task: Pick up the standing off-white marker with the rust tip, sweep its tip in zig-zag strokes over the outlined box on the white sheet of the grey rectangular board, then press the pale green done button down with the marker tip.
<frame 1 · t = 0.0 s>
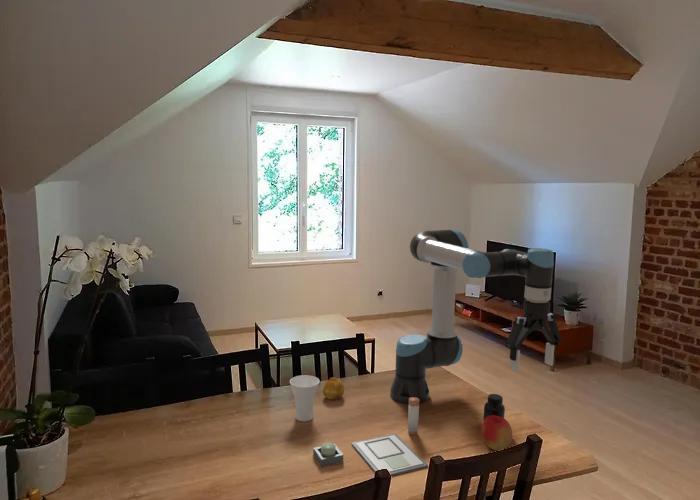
hand: (531, 367, 160), 28 cm above the table, fingers open, 13 cm apart
apple: (495, 448, 166), on the table
fruit: (333, 397, 200), on the table
grey rectangular board: (388, 455, 160), on the table
button housing: (328, 458, 158), on the table
supplement bottle: (492, 430, 178), on the table
cup: (304, 417, 184), on the table
marker: (412, 433, 174), on the table
done button: (328, 451, 157), point 3 cm above the table, slide at 0.0 cm
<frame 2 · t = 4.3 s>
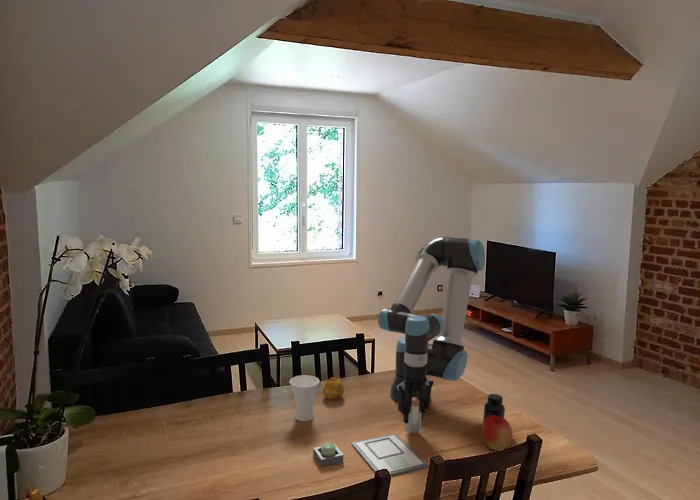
hand: (412, 430, 174), 1 cm above the table, fingers closed on marker, 3 cm apart
marker: (412, 433, 174), on the table, touching gripper
everything else where it was.
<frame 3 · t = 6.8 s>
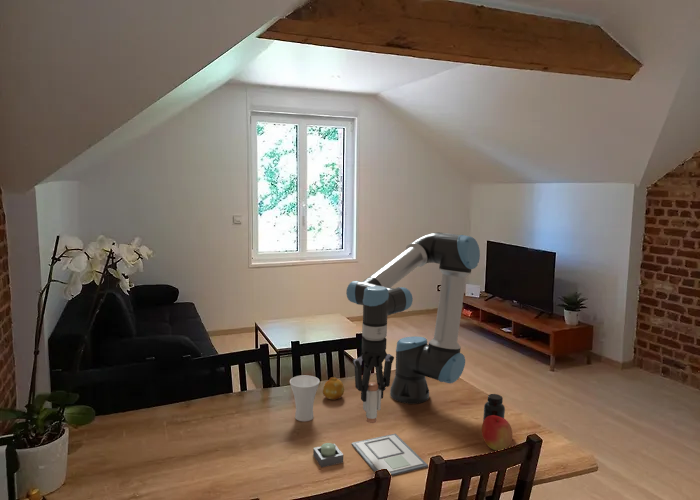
hand: (371, 409, 162), 13 cm above the table, fingers closed on marker, 3 cm apart
marker: (371, 420, 163), point 9 cm above the table, touching gripper
everything else where it was.
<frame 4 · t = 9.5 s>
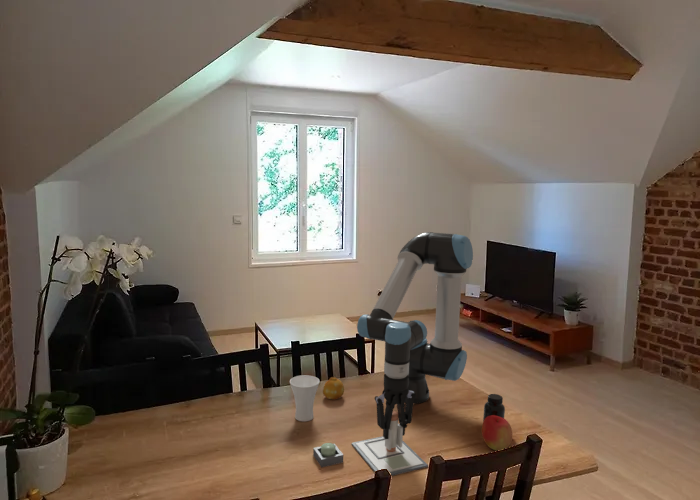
hand: (393, 446, 161), 3 cm above the table, fingers closed on marker, 3 cm apart
marker: (390, 449, 162), point 1 cm above the table, touching gripper
everything else where it was.
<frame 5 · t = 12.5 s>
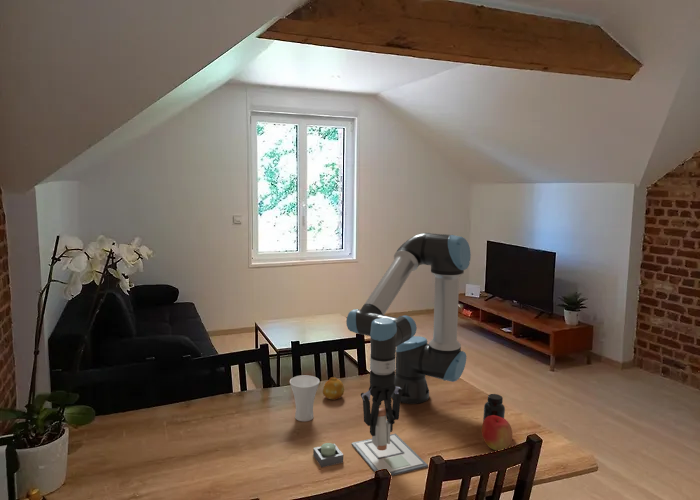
hand: (381, 442, 159), 4 cm above the table, fingers closed on marker, 3 cm apart
marker: (381, 448, 159), point 3 cm above the table, tilted 7°, touching gripper
everything else where it was.
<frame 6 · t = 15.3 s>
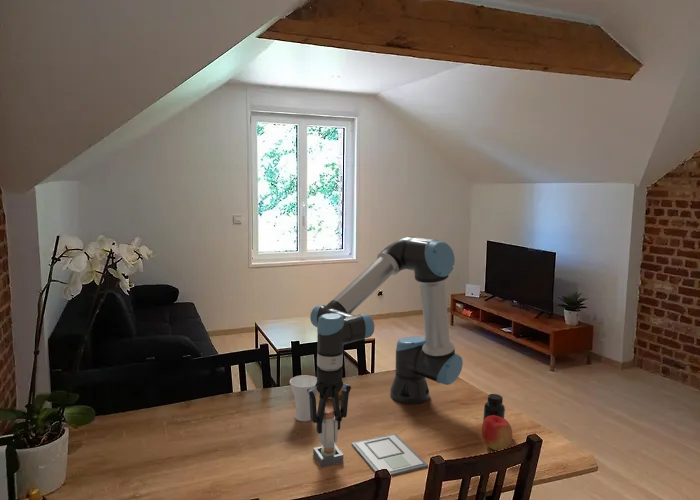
hand: (328, 440, 157), 6 cm above the table, fingers closed on marker, 3 cm apart
marker: (328, 451, 156), point 3 cm above the table, tilted 6°, touching done button, gripper
done button: (328, 454, 157), point 1 cm above the table, slide at -1.0 cm, touching marker
everything else where it was.
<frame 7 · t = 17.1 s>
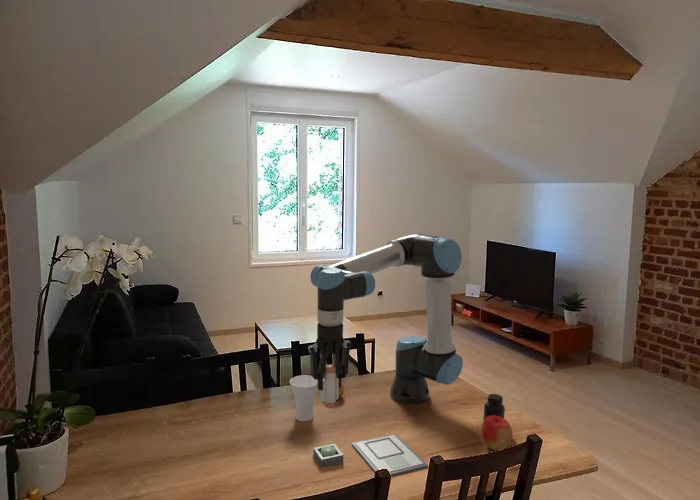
hand: (329, 398, 155), 19 cm above the table, fingers closed on marker, 3 cm apart
marker: (330, 405, 154), point 17 cm above the table, touching gripper
done button: (328, 454, 157), point 1 cm above the table, slide at -1.0 cm
everything else where it was.
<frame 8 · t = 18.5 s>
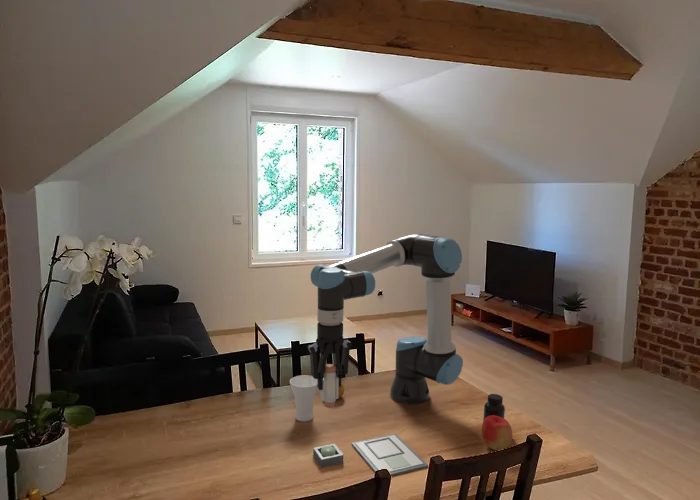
hand: (329, 398, 155), 20 cm above the table, fingers closed on marker, 3 cm apart
marker: (329, 405, 154), point 18 cm above the table, touching gripper
everything else where it was.
at the end: done button slide at -1.0 cm; the gripper is holding marker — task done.
